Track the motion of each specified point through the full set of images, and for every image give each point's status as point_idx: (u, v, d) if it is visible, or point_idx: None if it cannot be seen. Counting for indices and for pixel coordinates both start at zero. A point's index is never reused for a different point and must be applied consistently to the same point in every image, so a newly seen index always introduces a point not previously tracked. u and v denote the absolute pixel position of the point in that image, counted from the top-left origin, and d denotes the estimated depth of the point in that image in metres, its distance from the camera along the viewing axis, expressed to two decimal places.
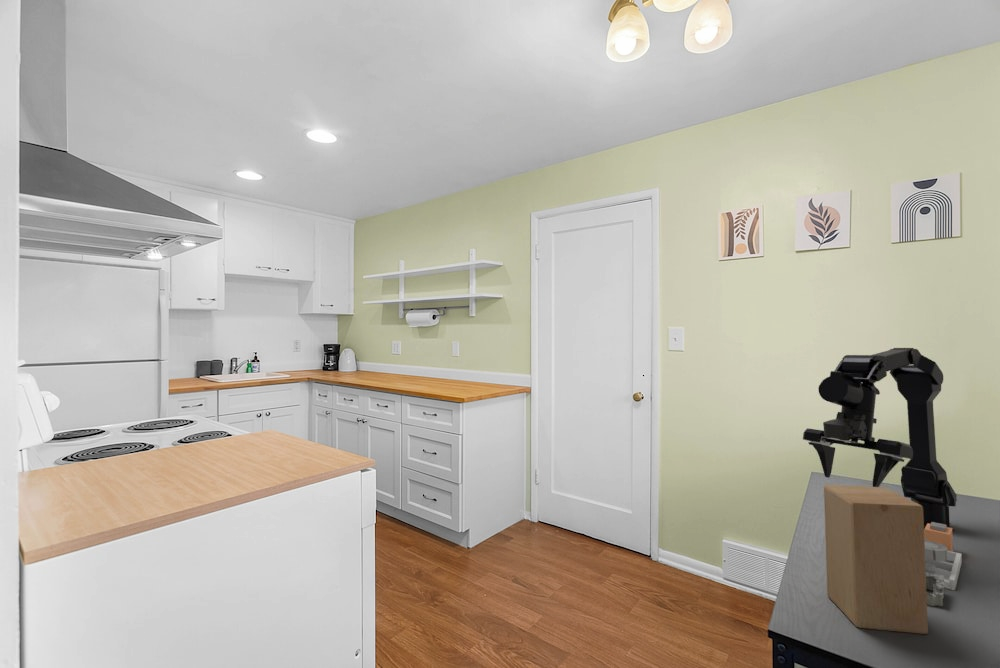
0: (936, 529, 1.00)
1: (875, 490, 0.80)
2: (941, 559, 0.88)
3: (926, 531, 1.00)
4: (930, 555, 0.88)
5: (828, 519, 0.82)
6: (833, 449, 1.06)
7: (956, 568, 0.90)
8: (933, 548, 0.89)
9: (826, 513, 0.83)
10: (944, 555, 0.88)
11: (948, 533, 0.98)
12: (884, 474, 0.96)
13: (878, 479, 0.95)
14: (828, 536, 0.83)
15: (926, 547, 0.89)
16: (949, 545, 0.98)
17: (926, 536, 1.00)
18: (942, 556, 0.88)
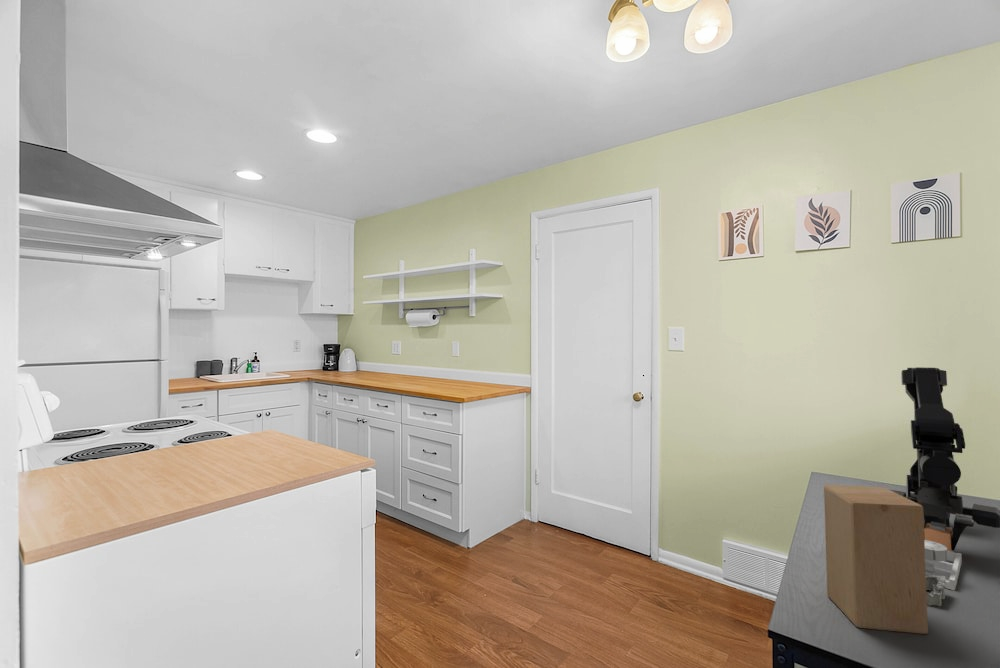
0: (936, 529, 1.00)
1: (875, 490, 0.80)
2: (941, 559, 0.88)
3: (926, 531, 1.00)
4: (930, 555, 0.88)
5: (828, 519, 0.82)
6: None
7: (956, 568, 0.90)
8: (933, 548, 0.89)
9: (826, 513, 0.83)
10: (944, 555, 0.88)
11: (948, 533, 0.98)
12: None
13: None
14: (828, 536, 0.83)
15: (926, 547, 0.89)
16: (949, 545, 0.98)
17: (926, 536, 1.00)
18: (942, 556, 0.88)
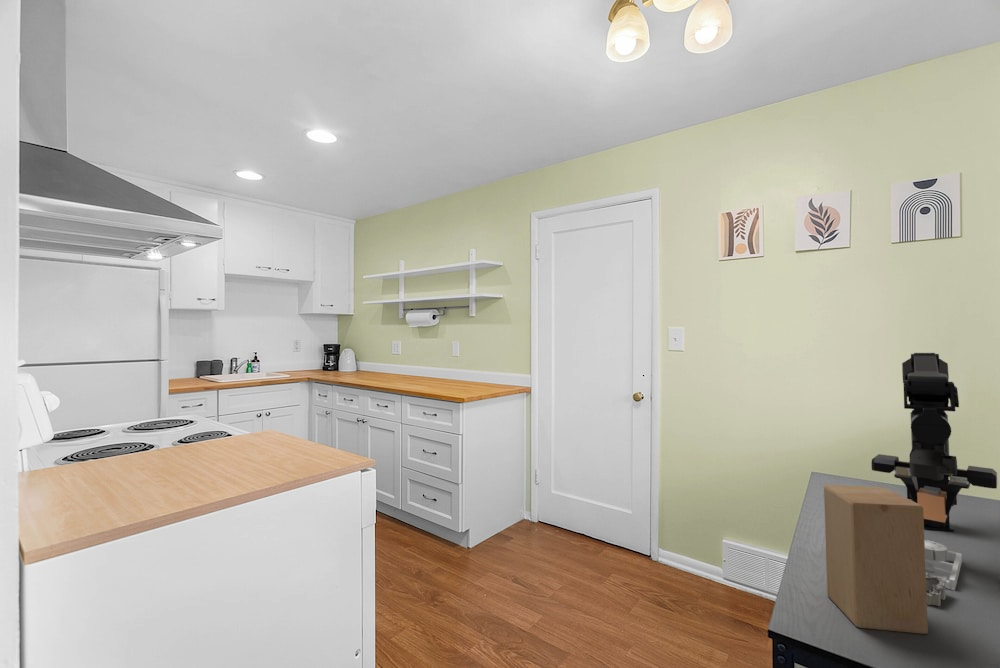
0: (929, 492, 0.95)
1: (875, 490, 0.80)
2: (941, 559, 0.88)
3: (919, 495, 0.96)
4: (930, 555, 0.88)
5: (828, 519, 0.82)
6: None
7: (956, 568, 0.90)
8: (933, 548, 0.89)
9: (826, 513, 0.83)
10: (944, 555, 0.88)
11: (942, 496, 0.94)
12: None
13: (951, 506, 0.94)
14: (828, 536, 0.83)
15: (926, 547, 0.89)
16: (943, 508, 0.93)
17: (919, 500, 0.96)
18: (942, 556, 0.88)
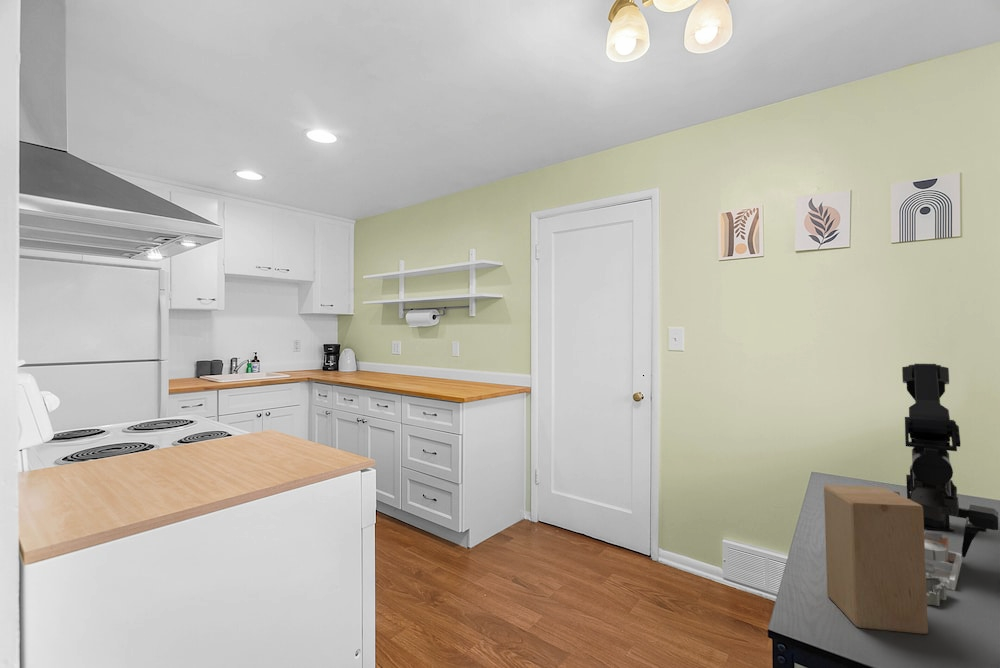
0: (931, 539, 0.95)
1: (875, 490, 0.80)
2: (941, 559, 0.88)
3: None
4: (930, 555, 0.88)
5: (828, 519, 0.82)
6: None
7: (956, 568, 0.90)
8: (933, 548, 0.89)
9: (826, 513, 0.83)
10: (944, 555, 0.88)
11: (943, 543, 0.93)
12: None
13: None
14: (828, 536, 0.83)
15: (926, 547, 0.89)
16: None
17: None
18: (942, 556, 0.88)
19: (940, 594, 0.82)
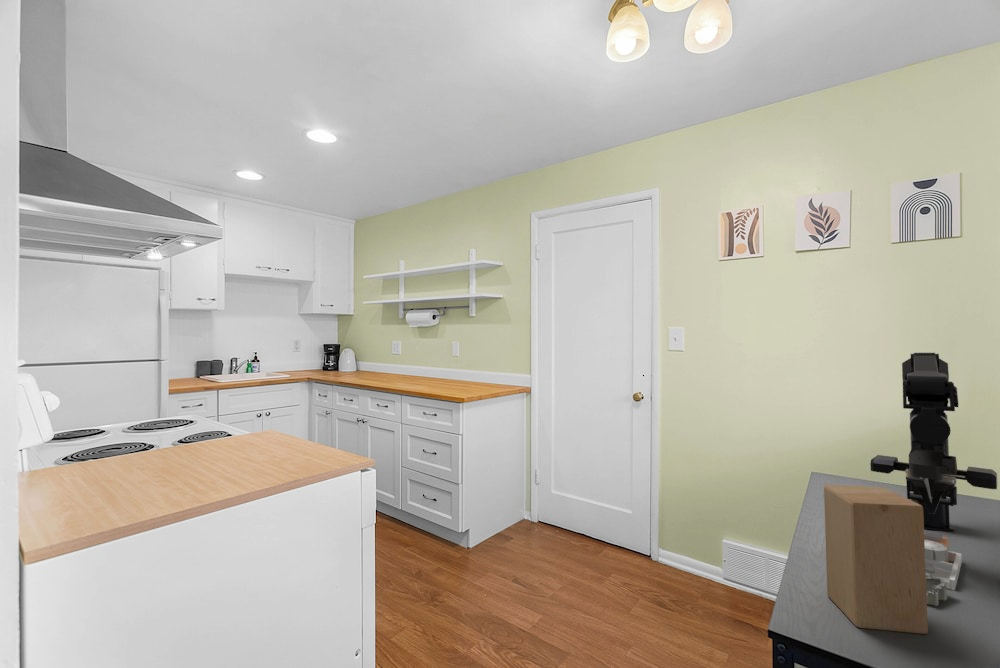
0: (931, 539, 0.95)
1: (875, 490, 0.80)
2: (941, 559, 0.88)
3: None
4: (930, 555, 0.88)
5: (828, 519, 0.82)
6: (927, 478, 0.97)
7: (956, 568, 0.90)
8: (933, 548, 0.89)
9: (826, 513, 0.83)
10: (944, 555, 0.88)
11: (943, 543, 0.93)
12: (940, 498, 0.95)
13: None
14: (828, 536, 0.83)
15: (926, 547, 0.89)
16: None
17: None
18: (942, 556, 0.88)
19: (940, 594, 0.82)
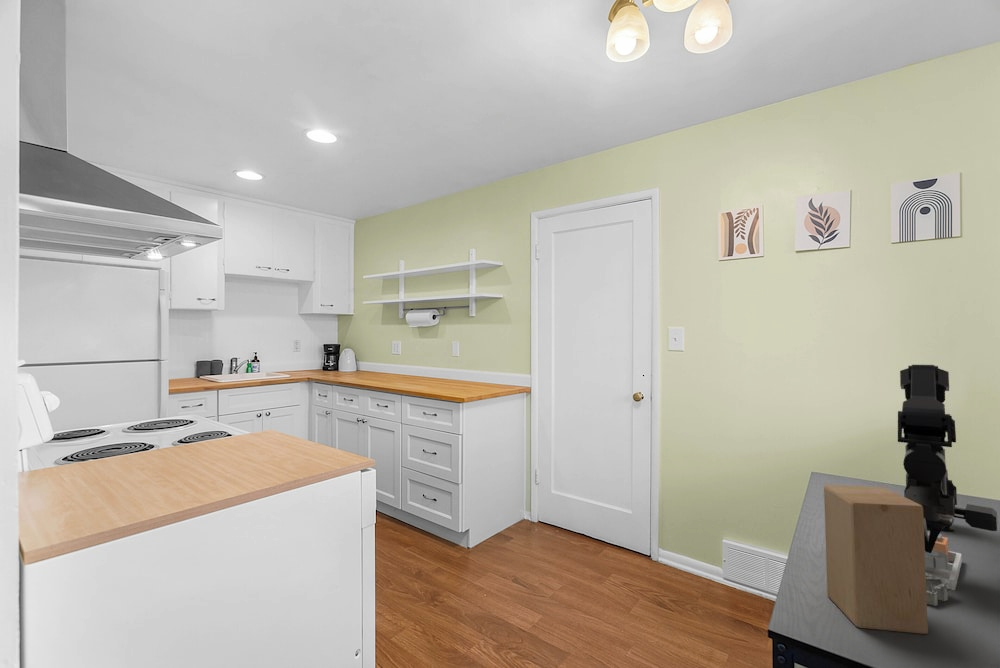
0: None
1: (875, 490, 0.80)
2: (941, 567, 0.88)
3: None
4: (930, 563, 0.88)
5: (828, 519, 0.82)
6: None
7: (956, 568, 0.90)
8: (933, 556, 0.89)
9: (826, 513, 0.83)
10: (944, 563, 0.88)
11: (943, 543, 0.93)
12: None
13: (934, 544, 0.89)
14: (828, 536, 0.83)
15: (926, 555, 0.89)
16: None
17: None
18: (942, 564, 0.88)
19: (940, 595, 0.82)
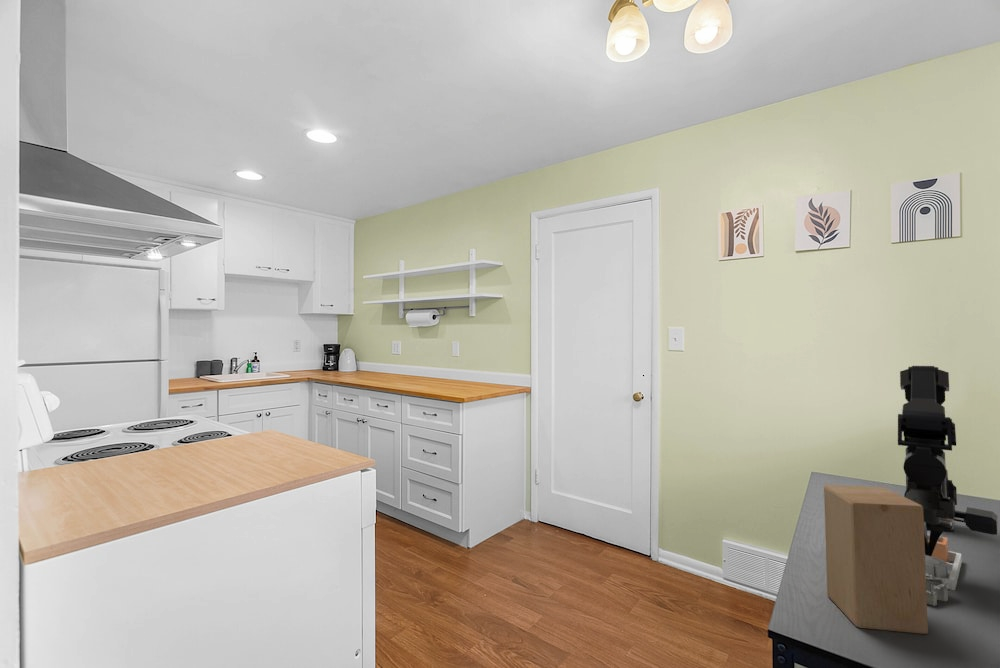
0: None
1: (875, 490, 0.80)
2: (942, 575, 0.88)
3: None
4: (931, 571, 0.88)
5: (828, 519, 0.82)
6: None
7: (956, 568, 0.90)
8: (934, 564, 0.89)
9: (826, 513, 0.83)
10: (945, 571, 0.88)
11: (943, 543, 0.93)
12: None
13: (934, 547, 0.89)
14: (828, 536, 0.83)
15: (927, 563, 0.89)
16: (944, 556, 0.93)
17: None
18: (943, 572, 0.88)
19: (940, 595, 0.82)
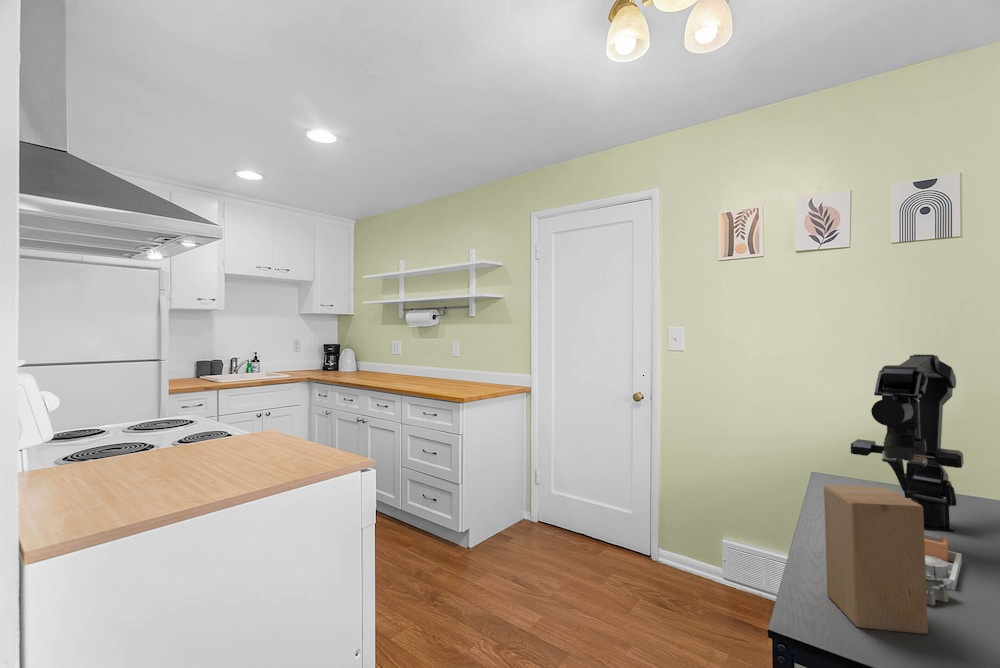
0: (931, 539, 0.95)
1: (875, 490, 0.80)
2: (942, 575, 0.88)
3: None
4: (931, 571, 0.88)
5: (828, 519, 0.82)
6: (902, 459, 1.07)
7: (956, 568, 0.90)
8: (934, 564, 0.89)
9: (826, 513, 0.83)
10: (945, 571, 0.88)
11: (943, 543, 0.93)
12: (913, 477, 1.04)
13: (910, 483, 1.03)
14: (828, 536, 0.83)
15: (927, 563, 0.89)
16: (944, 556, 0.93)
17: None
18: (943, 572, 0.88)
19: (940, 595, 0.82)
